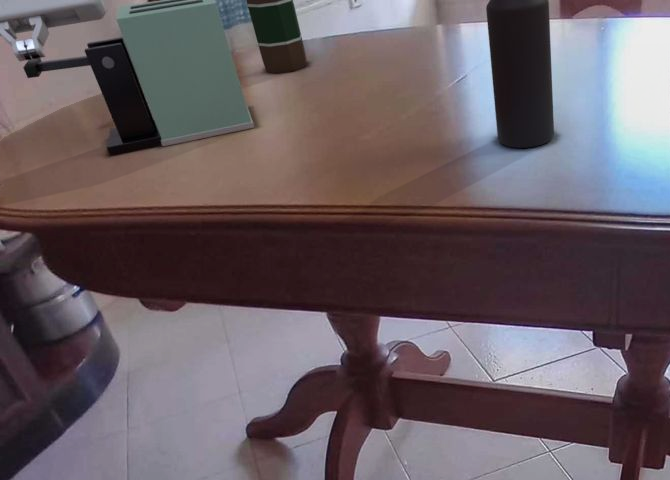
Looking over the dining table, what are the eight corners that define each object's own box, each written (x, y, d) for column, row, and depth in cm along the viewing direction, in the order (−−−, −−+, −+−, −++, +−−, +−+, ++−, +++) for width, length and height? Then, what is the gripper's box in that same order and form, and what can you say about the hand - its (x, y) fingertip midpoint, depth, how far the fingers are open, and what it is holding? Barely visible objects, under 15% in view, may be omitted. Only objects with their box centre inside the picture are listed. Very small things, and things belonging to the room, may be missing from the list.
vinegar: (546, 149, 81) (537, -47, 69) (491, 148, 83) (472, -43, 71) (559, 129, 86) (553, -58, 74) (506, 128, 88) (492, -54, 76)
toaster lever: (29, 82, 88) (21, 62, 87) (35, 73, 92) (27, 54, 91) (123, 70, 91) (116, 50, 90) (125, 62, 95) (118, 43, 93)
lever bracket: (110, 156, 94) (67, 56, 86) (113, 136, 101) (74, 42, 93) (171, 143, 96) (135, 44, 88) (171, 124, 103) (137, 31, 95)
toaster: (162, 146, 95) (113, 18, 85) (162, 125, 103) (118, 5, 93) (254, 127, 98) (217, 1, 88) (247, 108, 106) (212, -10, 96)
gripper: (-102, -44, 85) (-76, 57, 83) (78, -69, 90) (105, 26, 88) (-71, -8, 91) (-47, 86, 89) (96, -34, 96) (121, 56, 94)
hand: (30, 56), depth 89 cm, fingers closed
